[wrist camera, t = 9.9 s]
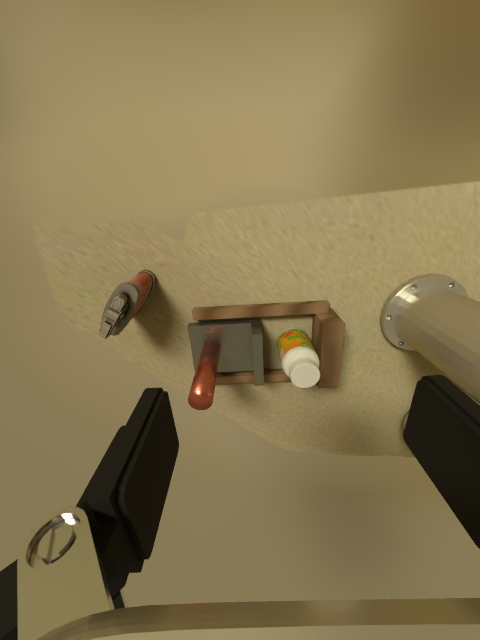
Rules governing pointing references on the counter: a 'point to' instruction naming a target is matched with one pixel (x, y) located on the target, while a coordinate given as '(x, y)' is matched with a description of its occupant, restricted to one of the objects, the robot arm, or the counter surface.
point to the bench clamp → (323, 340)
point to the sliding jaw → (223, 355)
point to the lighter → (126, 303)
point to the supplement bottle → (298, 357)
